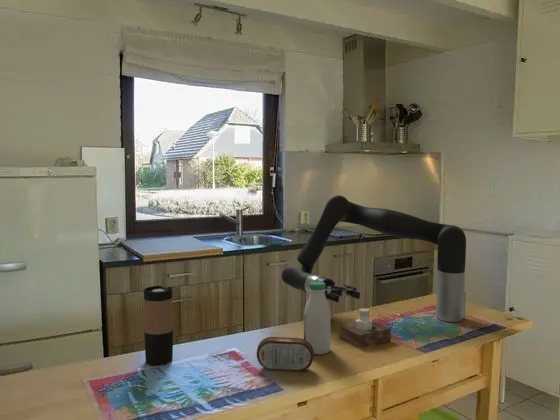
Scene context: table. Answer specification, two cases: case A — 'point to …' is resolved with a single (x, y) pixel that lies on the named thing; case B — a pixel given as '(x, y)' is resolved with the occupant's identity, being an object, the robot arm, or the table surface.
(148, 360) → the travel mug
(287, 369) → the tin
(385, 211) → the robot arm
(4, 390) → the table surface
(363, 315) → the salt shaker
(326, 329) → the milk bottle
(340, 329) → the walnut stand
